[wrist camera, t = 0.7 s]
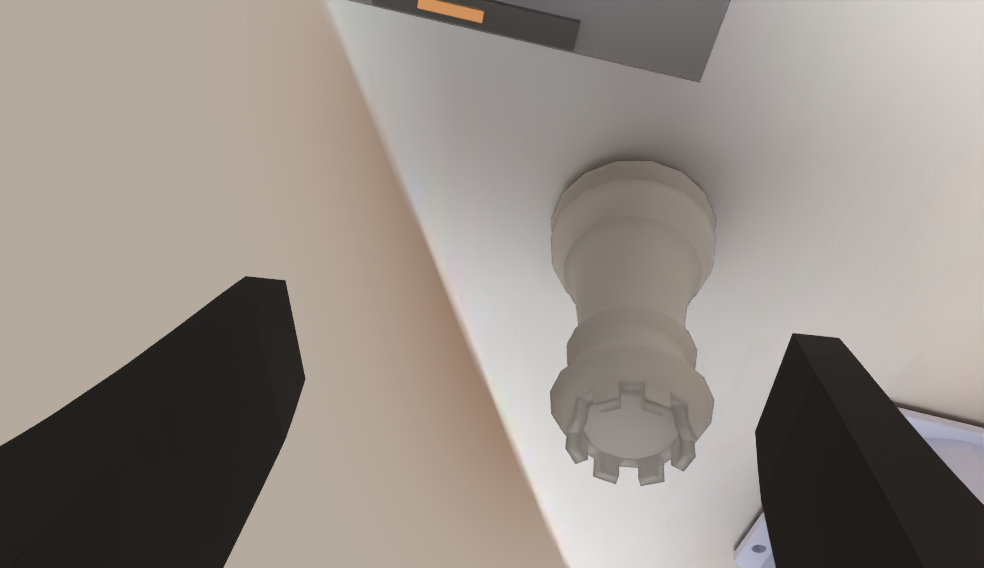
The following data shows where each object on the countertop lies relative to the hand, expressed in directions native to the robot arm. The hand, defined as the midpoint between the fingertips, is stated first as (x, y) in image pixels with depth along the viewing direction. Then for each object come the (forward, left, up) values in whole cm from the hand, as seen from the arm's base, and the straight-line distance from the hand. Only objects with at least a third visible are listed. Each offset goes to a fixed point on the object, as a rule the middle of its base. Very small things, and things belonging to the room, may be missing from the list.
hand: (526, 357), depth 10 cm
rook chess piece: (-3, -2, -10) cm, 11 cm away
